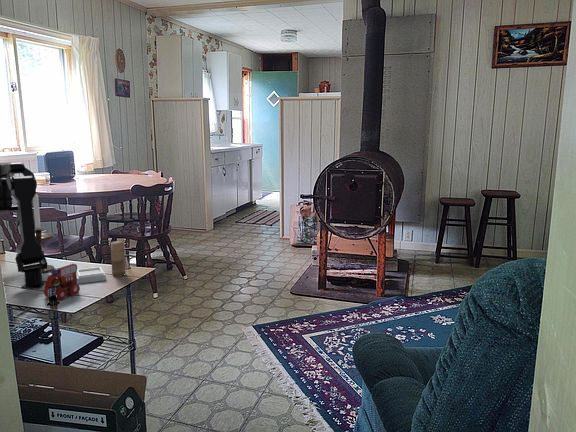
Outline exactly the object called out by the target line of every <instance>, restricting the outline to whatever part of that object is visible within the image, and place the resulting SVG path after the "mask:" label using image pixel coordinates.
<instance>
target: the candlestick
mask: <svg viewBox="0 0 576 432" xmlns="http://www.w3.org/2000/svg"><path fill="white" fill-rule="evenodd" d="M39 201H40V200H39V195H38V194H37V193H36V194H35V196H34V198H33V199H32V207H33V218H34V228H35V238H36V241H37V242H38V243H39V245H40V246H41V248H42V249H43V247H42V245H43V244H42V242H44V241H48V240H49V241H50V240H52V239H54V238H55V234H54V233H53V232H42V231H43V230H44V228H42V227H41V226H42V225H41V216H40V204H39V203H40V202H39ZM43 252H44V253H45V251H44V250H43ZM40 263H41V262H40ZM53 269H55V265H52V264H47V268H44V269H42V274H47V273H51V271H52V270H53Z"/></svg>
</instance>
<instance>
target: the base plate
mask: <svg viewBox="0 0 576 432" xmlns="http://www.w3.org/2000/svg"><path fill="white" fill-rule="evenodd" d="M76 275H77V284H78V285H80V284H85V283H86V284H87V283H93V282H101V281H102V282H103V281H106V280H107V276H106V273H105V271H104V269H103V267H101V266H96V267H95V266H94V267H87V268H77V272H76Z"/></svg>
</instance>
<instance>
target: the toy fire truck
mask: <svg viewBox="0 0 576 432" xmlns="http://www.w3.org/2000/svg"><path fill="white" fill-rule="evenodd" d="M77 269H78V265H77V263H70V264H67V265H64V266H61V267H58V268H57V269H56V268H54V269H53V270H52V271H51V272H50V273H51V274H49V275H48V276H47V277H46V278H47V279H46V280H45V281H46V283H45V284H44V287H43V294H44V296H45V298H49V287H56V295H57V299H56V300H58V301H62V300H61V299H63V300H65V299H66V297H67V295H68V294H69V295H71V296H76V295H78V294H79V292H81V291H80V290H81V288H80V287H81V286H80V284H77V275H76V272H77Z"/></svg>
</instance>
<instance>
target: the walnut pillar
mask: <svg viewBox="0 0 576 432" xmlns="http://www.w3.org/2000/svg"><path fill="white" fill-rule="evenodd" d="M110 257H111V261H110V262H111V276H112V275H113V276H112V277H121V276H120V275H124V274H125V275H126V274H127V273H126V253H125V242H124V241H122V240H116V241H112V242H110ZM125 275H124V276H125Z"/></svg>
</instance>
